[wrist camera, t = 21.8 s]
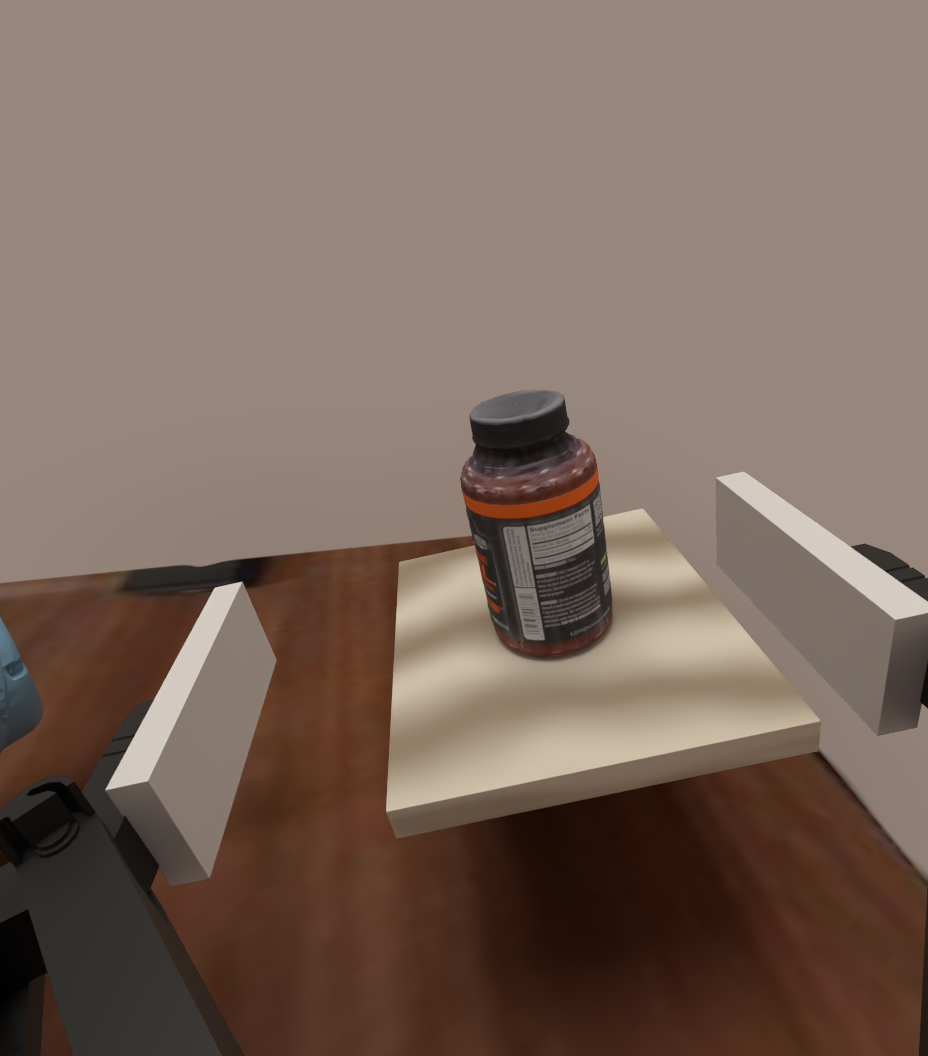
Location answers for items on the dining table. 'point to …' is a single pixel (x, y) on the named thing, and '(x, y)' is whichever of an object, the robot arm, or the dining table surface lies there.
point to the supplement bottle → (537, 525)
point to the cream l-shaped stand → (575, 692)
